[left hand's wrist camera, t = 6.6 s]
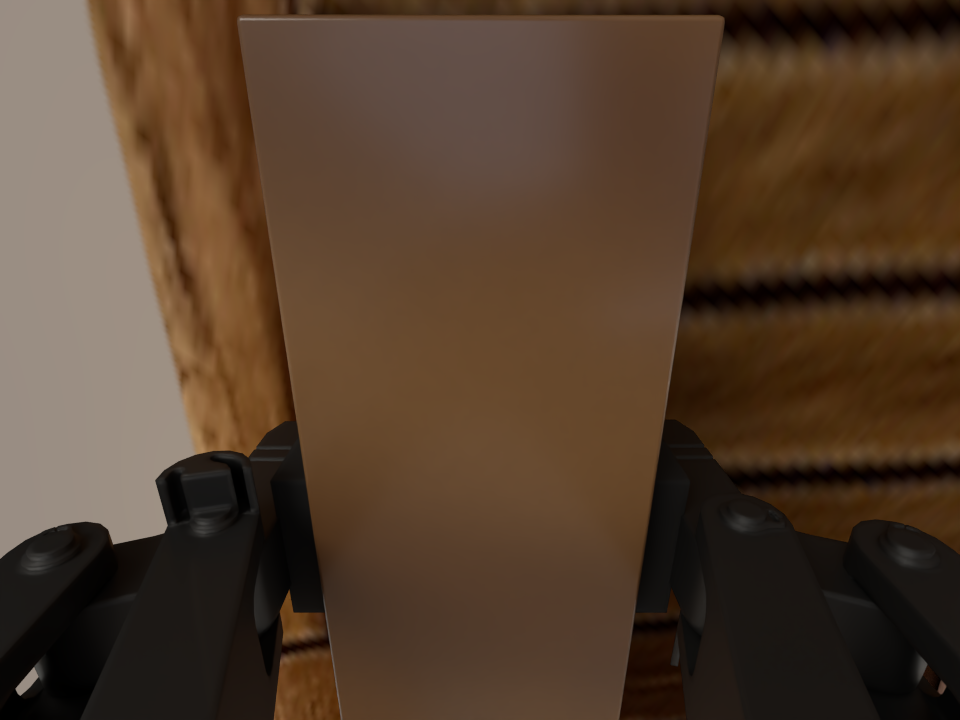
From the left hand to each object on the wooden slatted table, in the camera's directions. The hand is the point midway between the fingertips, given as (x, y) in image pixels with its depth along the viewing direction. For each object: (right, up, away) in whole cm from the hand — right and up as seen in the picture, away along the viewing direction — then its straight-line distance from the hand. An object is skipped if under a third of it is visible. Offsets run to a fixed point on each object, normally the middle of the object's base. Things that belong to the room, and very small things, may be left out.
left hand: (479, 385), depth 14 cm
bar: (0, -25, +11) cm, 27 cm away
